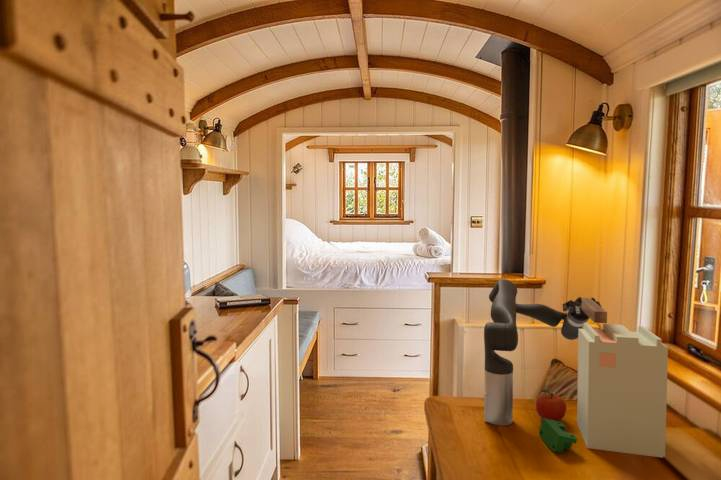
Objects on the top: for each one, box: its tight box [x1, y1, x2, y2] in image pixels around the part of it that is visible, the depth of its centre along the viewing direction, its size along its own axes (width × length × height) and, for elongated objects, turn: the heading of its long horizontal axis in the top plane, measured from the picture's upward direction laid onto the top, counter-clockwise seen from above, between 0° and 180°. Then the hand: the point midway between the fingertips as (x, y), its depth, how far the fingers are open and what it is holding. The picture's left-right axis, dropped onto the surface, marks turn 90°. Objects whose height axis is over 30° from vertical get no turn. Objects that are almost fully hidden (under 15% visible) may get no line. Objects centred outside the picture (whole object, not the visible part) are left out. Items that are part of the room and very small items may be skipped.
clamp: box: [538, 418, 578, 454], centre depth 131 cm, size 12×6×9 cm, turn 175°
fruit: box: [535, 389, 567, 422], centre depth 148 cm, size 10×10×10 cm
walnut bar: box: [579, 297, 608, 324], centre depth 146 cm, size 4×24×4 cm, turn 163°
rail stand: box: [576, 322, 669, 459], centre depth 133 cm, size 20×16×34 cm
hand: (586, 300), depth 154 cm, fingers closed on walnut bar, 3 cm apart
